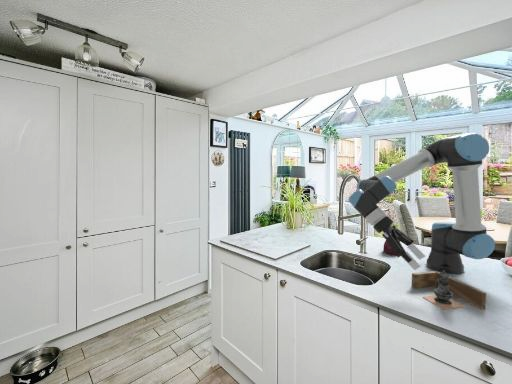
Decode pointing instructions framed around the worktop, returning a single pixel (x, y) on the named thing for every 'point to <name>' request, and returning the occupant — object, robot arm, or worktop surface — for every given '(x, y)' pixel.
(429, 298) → the tile
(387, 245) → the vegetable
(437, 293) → the grey stone statuette
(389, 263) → the worktop surface
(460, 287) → the wooden corner wall
